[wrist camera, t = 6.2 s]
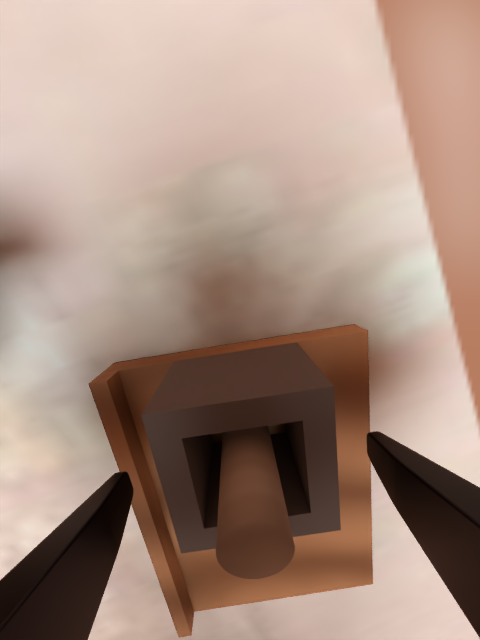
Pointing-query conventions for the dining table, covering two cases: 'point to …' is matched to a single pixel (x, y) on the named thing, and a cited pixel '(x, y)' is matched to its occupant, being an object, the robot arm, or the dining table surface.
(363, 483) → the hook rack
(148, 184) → the dining table surface
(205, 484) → the gray square frame
